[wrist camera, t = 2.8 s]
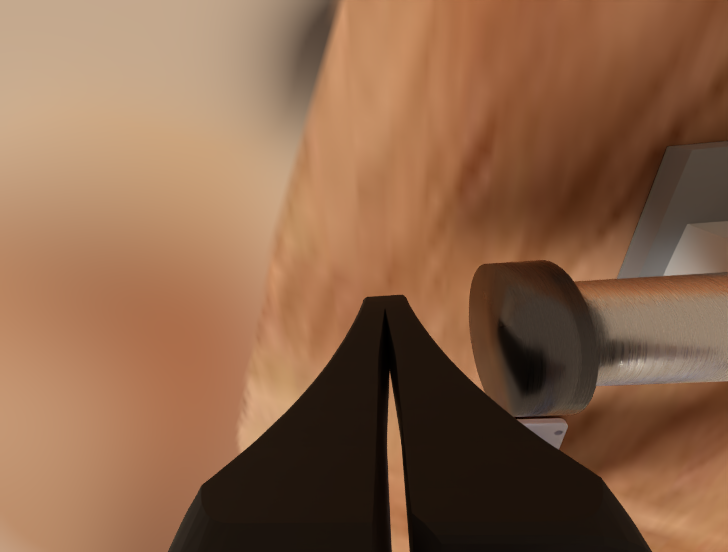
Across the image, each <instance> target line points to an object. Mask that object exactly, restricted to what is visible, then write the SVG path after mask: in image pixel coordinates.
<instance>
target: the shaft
mask: <svg viewBox="0 0 728 552" xmlns="http://www.w3.org/2000/svg"><path fill="white" fill-rule="evenodd" d="M469 326H470V336H471V343H472V349H473V355H474V359H475V364H476V367H477V371H478V374H479V378H480V381H481V383H482V386H483V388H484V391H485V393H486V395H487V396H489V397H490V398H491V399H492V400H494V401H495V402H496V403H497V404H498V405H500V406H501V407H502V408H503V409H504V410H506V411H507V412H508V413H509V414H511V415H512V416H513V417H525V416H558V415H575V414H577V413H579V412H581V411H582V410H584V409H585V408H586V406H587V405H588V404H589V402H590V400H591V399H592V397H593V394H594V391H595V388H596V386H612V385H639V384H666V383H693V382H720V381H728V272H719V273H703V274H687V275H671V276H655V277H639V278H623V279H607V280H591V281H575V282H574V281H573V280H572V279H571V277H570V276H569V275H568V274H567V273H566V272H565V271H564V270H563V269H562V268H560V267H559V266H558V265H556V264H554V263H552V262H550V261H546V260H536V261H521V262H506V263H492V264H483V265H481V266H480V267H479V268H478V269H477V271H476V273H475V275H474V277H473V280H472V284H471V289H470V298H469Z"/></svg>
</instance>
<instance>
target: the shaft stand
mask: <svg viewBox="0 0 728 552" xmlns="http://www.w3.org/2000/svg"><path fill="white" fill-rule="evenodd" d="M719 272H728V141H721V142H710V143H699V144H688V145H678V146H667V149H666V152H665V154H664V157H663V160H662V162H661V165H660V167H659V170H658V173H657V175H656V178H655V180H654V183H653V186H652V188H651V191H650V193H649V196H648V199H647V201H646V204H645V207H644V209H643V212H642V214H641V217H640V220H639V222H638V225H637V227H636V230H635V233H634V235H633V238H632V241H631V243H630V246H629V248H628V251H627V254H626V256H625V259H624V261H623V264H622V267H621V269H620V272H619V275H618V277H617V279H623V278H639V277H655V276H671V275H687V274H703V273H719Z"/></svg>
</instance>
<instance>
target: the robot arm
mask: <svg viewBox="0 0 728 552" xmlns="http://www.w3.org/2000/svg"><path fill="white" fill-rule="evenodd" d="M389 373H390V374H391V381H392V387H393V393H394V399H395V405H396V411H397V418H398V424H399V430H400V437H401V445H402V456H403V469H404V482H405V495H406V508H407V521H408V534H409V547H410V552H652V551H651V549H650V548H649V546H648V544H647V543H646V541H645V540H644V538H643V536H642V535H641V533H640V532H639V530H638V528H637V527H636V525H635V524H634V522H633V521H632V519H631V518H630V516H629V515H628V514H627V512H626V511H625V509H624V508H623V506H622V505H621V504H620V502H619V501H618V500H617V498H616V497H615V496H614V494H613V493H612V492H611V491H610V489H609V488H608V487H607V485H606V484H605V482H604V481H603V480H602V478H601V477H599V476H598V475H596V474H595V473H593V472H592V471H590V470H589V469H587V468H586V467H584V466H583V465H581V464H579V463H578V462H576V461H575V460H573V459H572V458H570V457H569V456H567V455H566V454H564V453H563V452H561V451H560V450H559V448H560V446H561V443H562V441H563V438H564V436H565V433H566V431H567V428H568V425H567V423H566V421H565V420H564V419H562V418H543V419H515V418H514V417H513V416H512V415H511V414H509V413H508V412H507V411H506V410H504V409H503V408H502V407H501V406H500V405H498V404H497V403H496V402H495V401H494V400H492V399H491V398H490V397H489V396H487V395H486V394H485V393H484V392H483V391H482V390H481V389H480V388H478V387H477V386H476V385H475V384H474V383H473V382H472V381H471V380H470V379H469V378H468V377H467V376H466V375H465V374H464V373H463V372H462V371H461V370H460V369H459V368H458V367H457V366H456V365H455V364H454V363H453V362H452V361H451V360H450V359H449V358H448V357H447V356H446V354H445V353H444V352H443V351H442V350H441V349H440V347H439V346H438V345H437V344H436V343H435V341H434V340H433V339H432V338H431V336H430V335H429V334H428V332H427V331H426V330H425V328H424V327H423V325H422V324H421V323H420V321H419V320H418V318H417V317H416V315H415V313H414V312H413V310H412V308H411V307H410V305H409V303H408V301H407V298H406V297H405V296H404V295H391V296H375V297H366V298H365V299H364V300H363V303H362V306H361V308H360V310H359V313H358V315H357V317H356V319H355V321H354V323H353V325H352V326H351V328H350V330H349V332H348V333H347V335H346V337H345V339H344V340H343V342H342V343H341V345H340V346H339V348H338V349H337V351H336V352H335V354H334V355H333V357H332V358H331V360H330V361H329V363H328V364H327V365H326V367H325V368H324V369H323V371H322V372H321V373H320V374H319V376H318V377H317V378H316V379H315V381H314V382H313V383H312V384H311V385H310V386H309V388H308V389H307V390H306V391H305V392H304V393H303V394H302V395H301V397H300V398H299V399H298V400H297V401H296V402H295V403H294V404H293V405H292V406H291V407H290V408H289V409H288V411H287V412H286V413H285V414H283V415H282V416H281V417H280V418H279V419H278V420H277V421H276V422H275V423H274V424H273V425H272V426H271V427H270V428H269V429H268V430H267V431H266V432H265V433H264V434H262V435H261V436H260V437H259V438H258V439H257V440H256V441H255V442H254V443H253V444H252V445H250V446H249V447H248V448H247V449H246V450H245V451H243V452H242V453H241V454H240V455H238V456H237V457H236V458H235V459H234V460H232V461H231V462H230V463H229V464H228V465H226V466H225V467H224V468H223V469H221V470H220V471H219V472H218V473H217V474H215V475H214V476H213V477H212V478H210V479H209V480H208V481H206V482H205V483H204V484H203V485H202V486H201V488H200V490H199V491H198V494H197V495H196V497H195V499H194V500H193V502H192V504H191V506H190V507H189V509H188V511H187V513H186V515H185V517H184V519H183V521H182V523H181V525H180V527H179V529H178V531H177V533H176V536H175V538H174V540H173V542H172V544H171V546H170V548H169V551H168V552H392V548H391V527H390V506H389V483H388V460H387V422H388V398H389Z"/></svg>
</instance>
